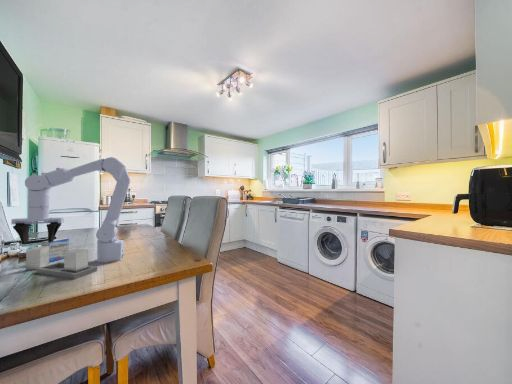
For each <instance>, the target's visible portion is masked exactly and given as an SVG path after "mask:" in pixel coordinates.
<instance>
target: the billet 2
mask: <svg viewBox="0 0 512 384" xmlns="http://www.w3.org/2000/svg"><path fill="white" fill-rule="evenodd" d="M63 262H64V271H66V272H72V273H77V272H80V271H83V270H86V269H88V266H89V249H84V248H74V249H69V251H65V253H64V259H63Z"/></svg>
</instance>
